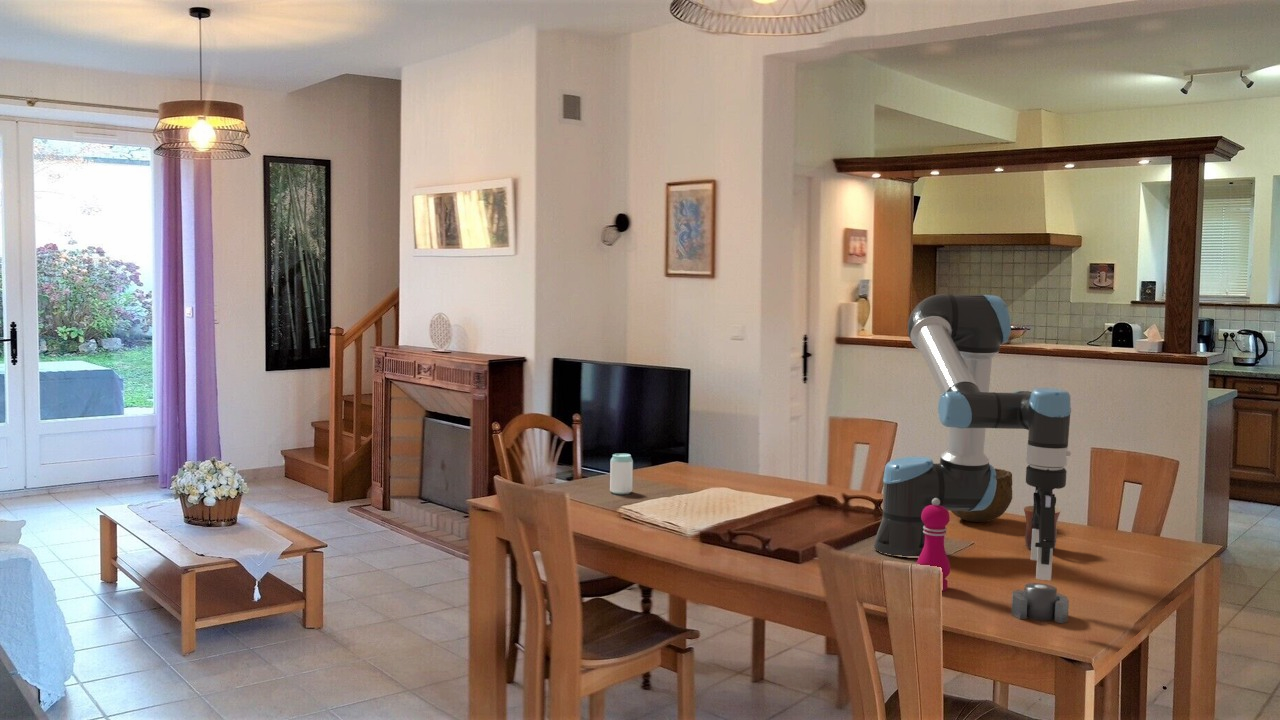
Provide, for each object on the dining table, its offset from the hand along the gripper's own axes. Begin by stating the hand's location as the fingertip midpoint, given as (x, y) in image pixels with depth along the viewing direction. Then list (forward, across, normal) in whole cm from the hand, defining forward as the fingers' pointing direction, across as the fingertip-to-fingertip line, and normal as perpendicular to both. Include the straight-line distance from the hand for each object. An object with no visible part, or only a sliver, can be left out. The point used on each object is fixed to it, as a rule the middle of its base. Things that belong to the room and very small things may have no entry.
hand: (1040, 569), depth 208 cm
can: (+12, +84, +116) cm, 144 cm away
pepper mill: (+10, +12, +21) cm, 26 cm away
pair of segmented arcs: (+9, -1, 0) cm, 9 cm away
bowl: (+12, +83, +10) cm, 85 cm away
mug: (+11, +55, -5) cm, 57 cm away
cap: (+10, -1, 0) cm, 10 cm away
